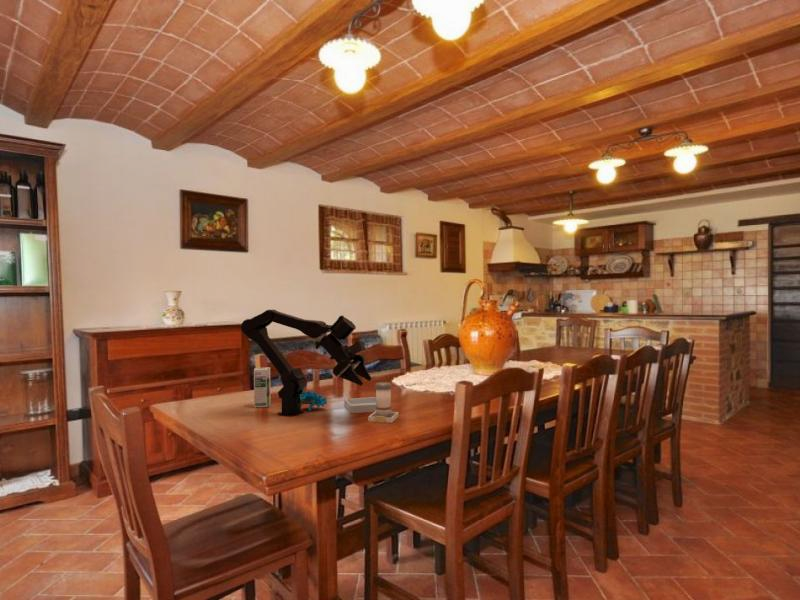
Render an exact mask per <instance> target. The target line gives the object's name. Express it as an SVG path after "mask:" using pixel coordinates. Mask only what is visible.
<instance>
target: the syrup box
mask: <svg viewBox="0 0 800 600" xmlns="http://www.w3.org/2000/svg"><path fill="white" fill-rule="evenodd" d="M253 395H254V396H253V397H254V398H253V408H254V409H256V407H257V408H270V406H271V367H270V366H269V367H255V368H254V369H253Z"/></svg>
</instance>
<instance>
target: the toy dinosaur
mask: <svg viewBox="0 0 800 600" xmlns="http://www.w3.org/2000/svg"><path fill="white" fill-rule="evenodd" d="M300 399H301V407H303V406H302V405H309V406H308V409H307V411H308V412H312V408H313V407H314V406H315V405H316V407H317V408H319V407H321V406H322V407H325V405H327V404H328V401H327V398H326V397H324V396H323V394H321V393H317V391H314V390H313V392H311V391H310V390H307V391H304V390H303V392H302V394H300Z"/></svg>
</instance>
